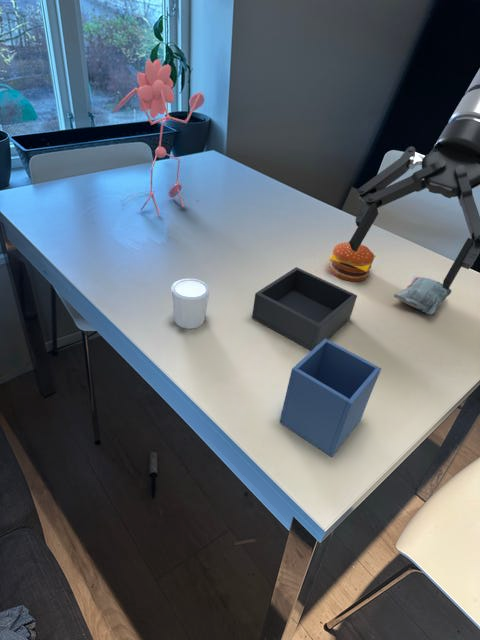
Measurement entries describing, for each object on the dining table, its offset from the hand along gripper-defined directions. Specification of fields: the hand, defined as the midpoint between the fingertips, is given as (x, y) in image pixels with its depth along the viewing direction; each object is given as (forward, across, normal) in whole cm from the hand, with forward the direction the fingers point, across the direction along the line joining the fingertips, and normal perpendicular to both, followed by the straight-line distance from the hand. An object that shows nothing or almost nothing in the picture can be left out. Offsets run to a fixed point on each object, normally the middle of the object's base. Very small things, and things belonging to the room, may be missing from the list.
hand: (396, 265), depth 61 cm
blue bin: (+24, 0, -8) cm, 25 cm away
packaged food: (-7, +1, -39) cm, 40 cm away
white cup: (+21, +31, -11) cm, 39 cm away
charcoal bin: (+10, +16, -22) cm, 29 cm away
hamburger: (-7, +18, -39) cm, 43 cm away
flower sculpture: (0, +74, -33) cm, 81 cm away
